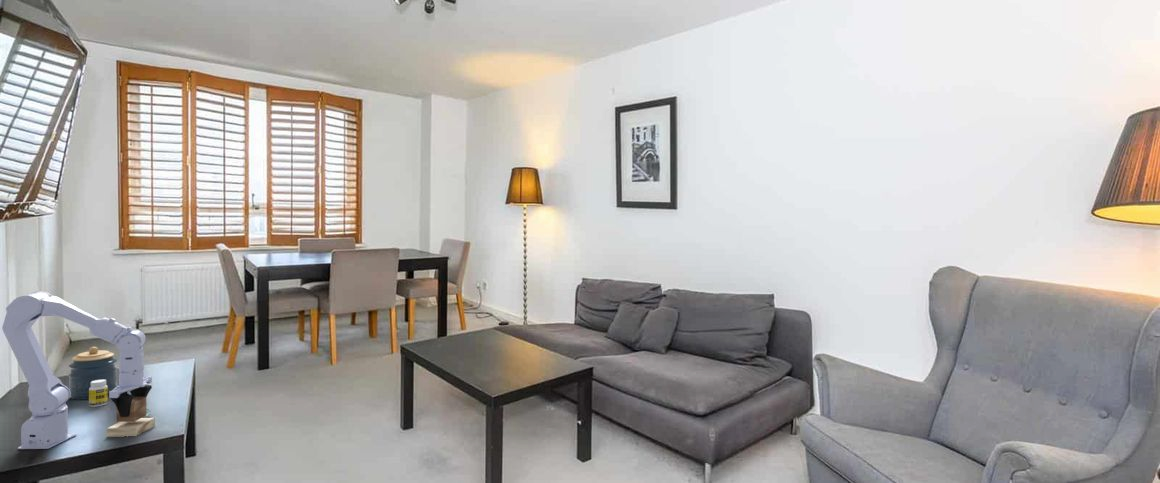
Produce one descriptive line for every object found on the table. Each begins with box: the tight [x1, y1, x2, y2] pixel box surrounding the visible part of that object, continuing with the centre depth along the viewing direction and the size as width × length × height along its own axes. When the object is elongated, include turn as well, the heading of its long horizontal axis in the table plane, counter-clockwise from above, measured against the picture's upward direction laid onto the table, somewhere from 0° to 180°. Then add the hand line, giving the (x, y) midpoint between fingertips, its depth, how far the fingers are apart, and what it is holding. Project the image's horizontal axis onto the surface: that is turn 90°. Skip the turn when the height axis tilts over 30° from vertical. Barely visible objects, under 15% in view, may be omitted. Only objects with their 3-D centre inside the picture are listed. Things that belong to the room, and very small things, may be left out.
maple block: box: [106, 417, 156, 438], centre depth 159 cm, size 8×8×3 cm
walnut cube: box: [116, 397, 147, 423], centre depth 158 cm, size 5×5×6 cm
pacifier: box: [142, 401, 152, 418], centre depth 167 cm, size 7×6×6 cm
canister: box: [68, 346, 118, 400], centre depth 188 cm, size 13×13×18 cm
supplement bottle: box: [88, 380, 108, 408], centre depth 179 cm, size 5×5×8 cm
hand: (131, 413), depth 159 cm, fingers closed on walnut cube, 5 cm apart
